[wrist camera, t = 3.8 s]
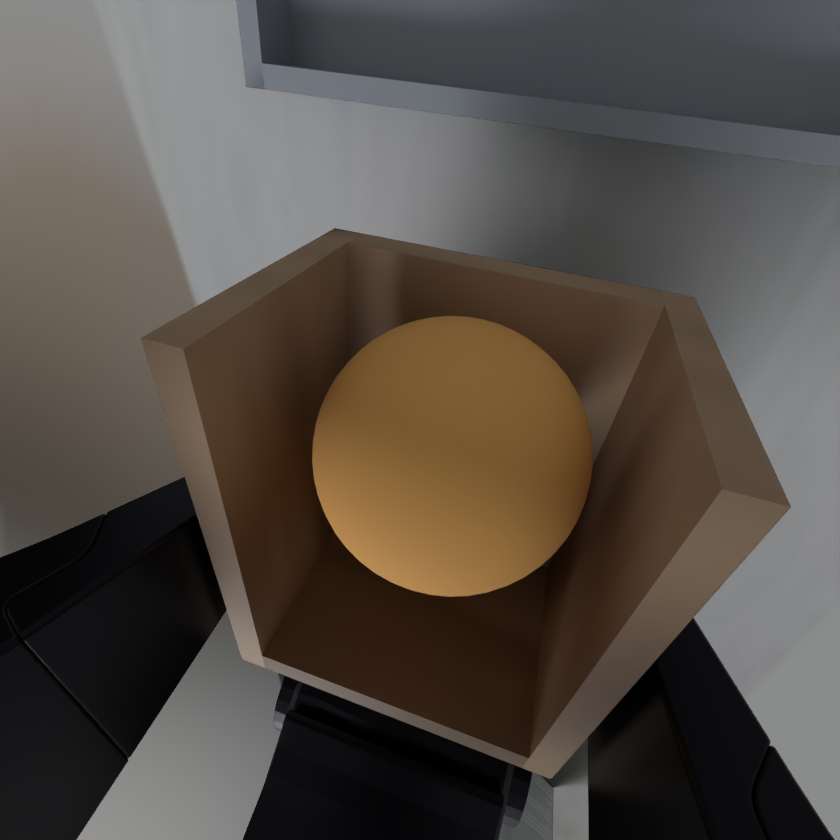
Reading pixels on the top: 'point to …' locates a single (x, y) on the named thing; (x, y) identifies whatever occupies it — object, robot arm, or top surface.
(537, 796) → the skincare box
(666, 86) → the tray
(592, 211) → the top surface
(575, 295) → the scoop
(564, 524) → the ball
